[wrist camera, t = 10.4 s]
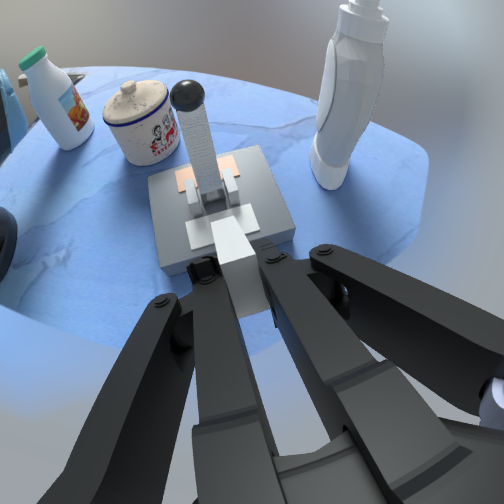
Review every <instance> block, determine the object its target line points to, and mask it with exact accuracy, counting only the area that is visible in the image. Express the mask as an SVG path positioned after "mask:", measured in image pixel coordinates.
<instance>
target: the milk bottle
mask: <svg viewBox="0 0 504 504" xmlns="http://www.w3.org/2000/svg"><path fill="white" fill-rule="evenodd" d="M19 67H20V69H21V70H22V71H23V73H25V74H26V76H27V80H28V86H29V97H30V101H31V104H32V106H33V108H34V110H35V112H36V113H37V115H38V116H39V118H40V119H41V121H42V122H43V124H44V125H45V127H46V128H47V130H48V131H49V133H50V134H51V135H52V137H53V138H54V140H55V141H56V142H57V144H58V145H59V146H60V148H61V149H63V150H66V151H67V150H72V149H74V148H76V147H78V146H80V145H81V144H82V143H84V142H85V141H86V140H87V139H88V138H89V137H90V135H91V134H92V132H93V130H94V122H93V120H92V118H91V116H90V114H89V112H88V111H87V109H86V107H85V105H84V103H83V101H82V100H81V98H80V96H79V94H78V92H77V90H76V89H75V87H74V85H73V83H72V81H71V80H70V78H69V77H68V75H67V74H66V73H65V72H64V71H62V70H61V69H59V68H58V67H56V66H54V65H53V64H52V63H51V62H50V61H49V60H48V59H47V54H46V51H45V49H44V47H43V46H40V47H38V48H36V49H35V50H33V51H32V52H30V53H29V54H28V55H26V56H25V57H24V58H23V59H22V60H21V61H20V62H19Z"/></svg>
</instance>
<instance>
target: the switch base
mask: <svg viewBox="0 0 504 504" xmlns="http://www.w3.org/2000/svg"><path fill="white" fill-rule="evenodd" d="M216 159H217V163H218V167H219V172H220V176H221V180H222V185H223V189H224V193H225V197H226V198H224V199H220V200H217V201H214V202H210V203H207V204H203V202H202V199H201V195H200V192H199V189H198V185H197V182H196V179H195V175H194V172H193V169H192V165H191V163H187V164H184V165H181V166H178V167H174V168H171V169H168V170H165V171H162V172H159V173H156V174H153V175H150V176H147V180H148V189H149V198H150V206H151V213H152V220H153V227H154V234H155V240H156V246H157V252H158V258H159V263H160V268H161V269H162V270H163V271H164V272H165V273H166V274H167V275H168V276H169V277H170V276H174V275H177V274H180V273H184V272H187V268H186V266H187V264H188V263H189V262H190V261H192V260H193V259H195V258H198V257H200V256H204V255H210V254H213V253H216V252H217V251H216V247H215V242H214V237H213V232H212V227H211V222H214V221H218V220H221V219H224V218H228V217H231V216H234V217H235V218H236V220H237V222H238V224H239V225H240V227H241V229H242V231H243V232H244V234H245V236H246V238H247V239H248V241H249V242H250V241H254V240H257V239H260V238H268V239H270V240H271V241H272V242H273V244H274V245H278V244H282V243H285V242H288V241H292V240H293V237H294V233H295V229H296V227H295V225H294V222H293V220H292V218H291V215H290V213H289V211H288V208H287V206H286V204H285V201H284V199H283V197H282V194H281V192H280V190H279V188H278V185H277V183H276V181H275V179H274V177H273V174H272V172H271V170H270V168H269V166H268V163H267V161H266V159H265V157H264V155H263V153H262V150H261V148H260V146H259V145H255V146H251V147H247V148H242V149H238V150H234V151H230V152H226V153H223V154H219V155H216Z"/></svg>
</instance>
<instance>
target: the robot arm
mask: <svg viewBox="0 0 504 504" xmlns="http://www.w3.org/2000/svg"><path fill="white" fill-rule="evenodd" d="M27 130H28V121H27V119H26V116H25V114H24V112H23V109H22V107H21V105H20V102H19V100H18V98H17V96H16V94H15V92H14V91H13V88H12V86H11V83H10V81H9V79H8V76H7V75H6V73H5V71H4V70H3V69H0V164H1V162H2V161H3V160H4V159H5V158H6V157H7V156H8V155H9V154H11V153H12V151H13V150H14V148H15V147H16V145H17V144H18V143H19V142H20V141H21V140H22V139H23V138H24V136H25V135H26V133H27ZM211 227H212V232H213V237H214V242H215V247H216V251H217V252H216V253H213V254H210V255H204V256H200V257H198V258H195V259H193V260H192V261H190V262H189V263H188V264H187V266H186V268H187V271H188V274H189V276H190V279H191V282H192V284H193V291H192V292H191V293H190V294H188V295H187V296H185V297H183V298H181V299H179V300H178V297H177V296H176V294H173V293H166V294H161V295H159V296H157V297H155V298H154V299H153V300H151V301H150V303H149V304H148V305H147V307H146V309H145V310H144V312H143V314H142V315H141V317H140V319H139V321H138V322H137V324H136V326H135V328H134V329H133V331H132V333H131V335H130V336H129V338H128V340H127V342H126V344H125V345H124V347H123V349H122V351H121V353H120V354H119V356H118V358H117V360H116V362H115V364H114V366H113V368H112V369H111V371H110V373H109V375H108V377H107V379H106V381H105V383H104V385H103V387H102V389H101V391H100V393H99V395H98V397H97V399H96V401H95V403H94V405H93V407H92V409H91V411H90V413H89V415H88V417H87V419H86V421H85V423H84V425H83V428H82V430H81V432H80V434H79V436H78V439H77V441H76V443H75V445H74V448H73V450H72V452H71V455H70V457H69V459H68V462H67V464H66V466H65V469H64V471H63V472H62V473H61V475H60V476H59V477H58V478H57V479H56V481H55V482H54V483H53V484H52V486H51V487H50V488H49V489H48V490H47V492H46V493H45V494H44V495H43V496H42V498H41V499H40V500H39V501H38V503H37V504H161V503H162V500H163V495H164V490H165V485H166V481H167V477H168V473H169V468H170V464H171V460H172V455H173V450H174V447H175V442H176V438H177V434H178V430H179V426H180V422H181V418H182V414H183V410H184V406H185V402H186V398H187V394H188V390H189V386H190V382H191V378H192V375H193V371H194V367H195V369H196V385H197V398H198V410H199V424H198V425H194V426H193V428H192V445H193V456H194V468H195V476H196V485H197V494H198V497H197V499H196V500H195V501H194V502H193V503H192V504H504V320H503V319H501V318H498V317H497V316H495V315H493V314H491V313H489V312H487V311H485V310H482V309H481V308H478V307H476V306H474V305H472V304H470V303H468V302H466V301H464V300H462V299H459V298H457V297H455V296H453V295H451V294H449V293H446V292H444V291H442V290H440V289H438V288H435V287H433V286H431V285H429V284H427V283H424V282H422V281H420V280H418V279H415V278H413V277H411V276H409V275H406V274H404V273H401V272H399V271H397V270H394V269H392V268H390V267H388V266H385V265H383V264H381V263H378V262H376V261H373V260H371V259H369V258H366V257H364V256H361V255H359V254H357V253H354V252H352V251H349V250H347V249H344V248H342V247H339V246H337V245H333V244H324V245H323V244H322V245H319V246H317V247H315V248H313V249H311V250H310V252H309V256H310V259H303V260H293V258H292V257H291V256H290V255H289V254H287V253H284V252H280V251H279V249H278V248H277V247H276V246H275V245H274V244H273V242H272V241H271V240H270V239H268V238H260V239H257V240H254V241H250V242H249V241H248V239H247V238H246V236H245V234H244V232H243V231H242V229H241V227H240V225H239V224H238V222H237V220H236V218H235V217H234V216H231V217H228V218H224V219H221V220H218V221H214V222H211ZM16 238H17V224H16V220H15V218H14V216H13V215H12V214H11V213H10V212H9V211H7V210H6V209H5V208H3V207H0V281H1V280H2V278H3V277H4V275H5V273H6V271H7V269H8V267H9V264H10V262H11V259H12V256H13V253H14V249H15V244H16ZM344 286H345V287H346V289H347V291H348V292H346V291H345V288H344ZM268 303H269V304H268ZM269 305H270V307H269ZM270 308H271V312H272V316H273V320H274V324H275V328H278V329H279V331H280V333H281V335H282V337H283V339H284V341H285V344H286V346H287V348H288V350H289V352H290V354H291V357H292V359H293V361H294V363H295V365H296V367H297V369H298V372H299V373H300V376H301V378H302V380H303V382H304V384H305V386H306V389H307V391H308V393H309V395H310V397H311V399H312V401H313V404H314V406H315V408H316V410H317V412H318V414H319V416H320V418H321V420H322V423H323V425H324V427H325V429H326V431H327V433H328V435H329V438H330V441H331V442H329V443H328V444H327V445H325V446H323V447H322V448H320V449H319V450H317V451H315V452H312V453H307V454H299V455H289V456H279V453H278V450H277V447H276V444H275V441H274V438H273V435H272V431H271V428H270V426H269V422H268V419H267V416H266V412H265V409H264V406H263V403H262V399H261V396H260V393H259V389H258V386H257V383H256V380H255V376H254V373H253V369H252V366H251V362H250V359H249V356H248V352H247V349H246V345H245V342H244V338H243V335H242V331H241V327H240V324H239V321H238V319H239V318H242V317H246V316H249V315H252V314H255V313H259V312H262V311H265V310H268V309H270ZM360 340H361V341H363V342H364V343H366V344H367V345H368V346H370V347H371V348H372V349H374V350H375V351H377V352H378V353H379V354H381V355H382V356H384V357H385V358H386V359H388V360H386V359H385V360H383V361H381V362H378V361H377V360H376V359H375V358H374V357H373V356H372V355H371V353H370V352H369V351H368V349H367V348H366V347H365V346H364V344H363V343H362V342H361V341H360ZM397 366H398V367H399V368H401V369H402V370H403V371H405V372H406V373H407V374H409V375H410V376H412V377H413V378H414V379H416V380H418V381H419V382H420V383H422V384H423V385H425V386H426V387H427V388H429V389H430V390H431V391H433V392H435V393H436V394H437V395H438V396H440V397H442V398H443V399H444V400H446V401H447V402H449V403H450V404H452V405H453V406H455V407H457V408H458V409H461V410H463V411H465V412H467V413H469V414H472V415H475V416H478V417H480V419H481V421H480V424H479V426H478V425H472V424H467V423H463V422H458V421H454V420H449V419H445V418H441V417H437V416H436V414H435V413H434V412H433V411H432V409H431V408H430V407H429V406H428V404H427V403H426V402H425V401H424V399H423V398H422V397H421V396H420V394H419V393H418V392H417V391H416V389H415V388H414V387H413V386H412V385H411V383H410V382H409V381H408V380H407V378H406V377H405V376H404V375H403V374H402V372H401V371H400V370H399V369H398V368H397Z"/></svg>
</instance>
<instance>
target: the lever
mask: <svg viewBox="0 0 504 504" xmlns="http://www.w3.org/2000/svg"><path fill="white" fill-rule="evenodd" d="M169 98H170V103H171V105H172V106H173V108H174V109H176V113H177V116H178V120H179V124H180V127H181V131H182V134H183V138H184V141H185V145H186V148H187V152H188V155H189V159H190V162H191V165H192V169H193V172H194V175H195V179H196V182H197V185H198V189H199V192H200V195H201V199H202V202H203V204H207V203H210V202H214V201H217V200H220V199H224V198H226V197H225V193H224V189H223V185H222V180H221V176H220V172H219V167H218V163H217V159H216V154H215V150H214V146H213V141H212V137H211V133H210V128H209V124H208V119H207V115H206V111H205V106H204V103H203V101H204V98H205V92H204V89H203V87H202V86H201V85H200V84H199V83H198V82H196V81H194V80H183V81H180V82H178V83H177V84H175V85H174V87H173V88H172V90H171V92H170V96H169Z"/></svg>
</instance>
